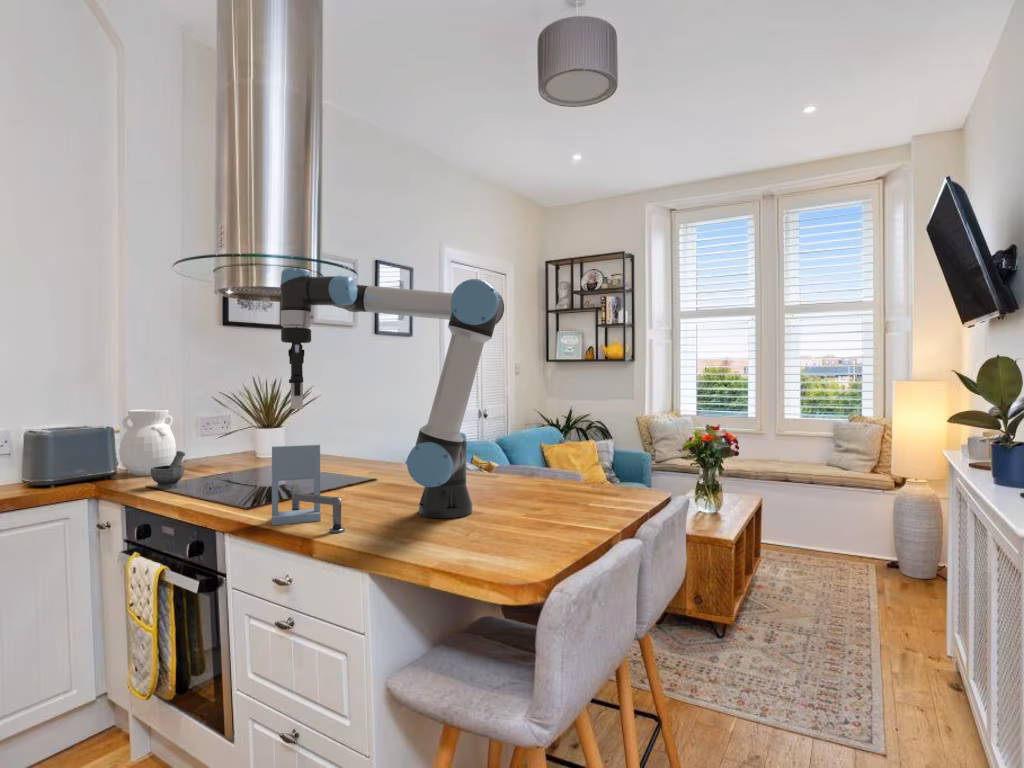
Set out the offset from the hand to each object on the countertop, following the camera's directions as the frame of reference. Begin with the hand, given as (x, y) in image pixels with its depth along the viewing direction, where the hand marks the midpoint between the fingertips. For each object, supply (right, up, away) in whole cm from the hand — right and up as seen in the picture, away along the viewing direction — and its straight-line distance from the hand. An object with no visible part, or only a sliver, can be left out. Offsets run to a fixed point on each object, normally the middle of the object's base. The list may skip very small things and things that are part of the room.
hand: (296, 407), depth 150 cm
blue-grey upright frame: (0, -30, 0) cm, 30 cm away
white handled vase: (-84, -29, +69) cm, 113 cm away
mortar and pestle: (-61, -30, +44) cm, 81 cm away
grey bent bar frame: (+6, -30, -2) cm, 31 cm away
